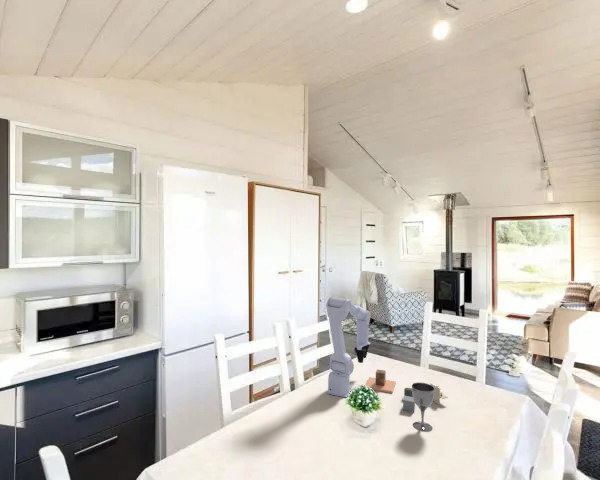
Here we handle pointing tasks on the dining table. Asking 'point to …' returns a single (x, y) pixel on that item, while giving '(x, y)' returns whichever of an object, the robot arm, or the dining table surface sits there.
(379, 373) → the walnut block
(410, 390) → the rubber cylinder
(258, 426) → the dining table surface
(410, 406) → the grey cube
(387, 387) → the terracotta tile
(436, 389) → the architectural model
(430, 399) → the wine glass
